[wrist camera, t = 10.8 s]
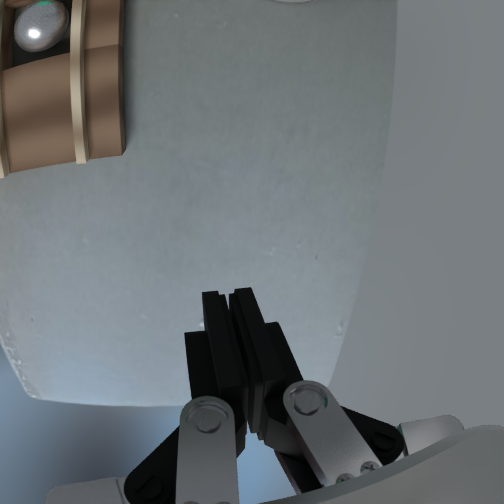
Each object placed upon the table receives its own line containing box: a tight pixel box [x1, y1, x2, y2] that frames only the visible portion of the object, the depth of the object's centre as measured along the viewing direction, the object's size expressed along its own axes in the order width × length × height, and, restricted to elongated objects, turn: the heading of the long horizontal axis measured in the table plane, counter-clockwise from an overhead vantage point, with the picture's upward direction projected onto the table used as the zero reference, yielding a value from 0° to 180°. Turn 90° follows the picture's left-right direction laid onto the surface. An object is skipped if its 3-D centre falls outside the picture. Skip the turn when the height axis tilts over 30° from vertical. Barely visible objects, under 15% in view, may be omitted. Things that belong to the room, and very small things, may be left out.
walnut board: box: [0, 0, 126, 178], centre depth 23 cm, size 22×18×4 cm
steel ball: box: [14, 0, 69, 52], centre depth 20 cm, size 6×6×6 cm
